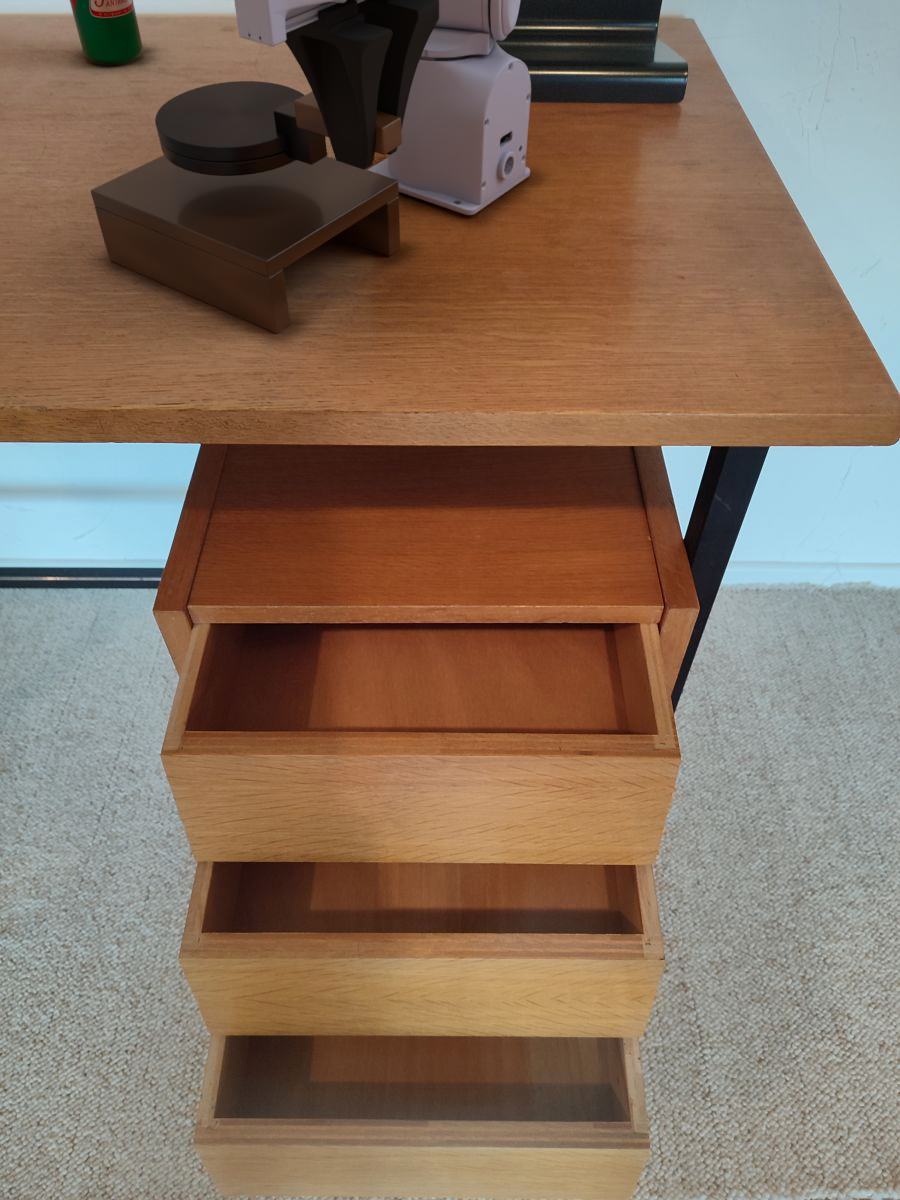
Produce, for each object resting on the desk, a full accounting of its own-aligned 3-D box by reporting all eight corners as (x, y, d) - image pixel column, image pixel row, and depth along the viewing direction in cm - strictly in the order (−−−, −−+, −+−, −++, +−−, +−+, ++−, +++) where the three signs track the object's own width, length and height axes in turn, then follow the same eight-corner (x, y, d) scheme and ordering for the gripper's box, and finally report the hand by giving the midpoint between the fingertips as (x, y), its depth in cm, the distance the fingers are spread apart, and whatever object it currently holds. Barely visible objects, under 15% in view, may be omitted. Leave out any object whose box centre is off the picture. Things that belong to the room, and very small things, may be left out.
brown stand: (400, 249, 60) (398, 179, 56) (276, 334, 53) (266, 261, 50) (240, 189, 65) (229, 122, 62) (109, 260, 58) (89, 189, 55)
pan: (129, 150, 54) (110, 82, 51) (235, 96, 58) (224, 31, 56) (343, 228, 48) (336, 155, 45) (443, 161, 53) (442, 92, 50)
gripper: (379, -204, 45) (388, 95, 55) (158, -156, 37) (217, 184, 47) (502, -186, 42) (487, 124, 53) (292, -129, 34) (323, 223, 45)
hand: (366, 155), depth 50 cm, fingers closed on pan
